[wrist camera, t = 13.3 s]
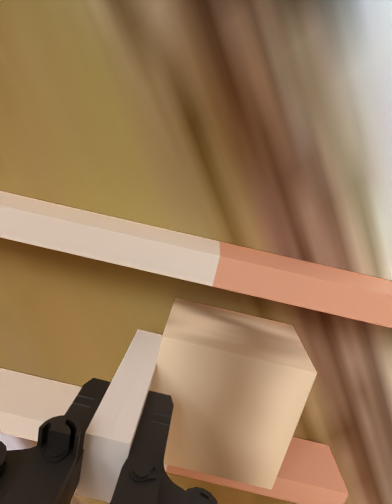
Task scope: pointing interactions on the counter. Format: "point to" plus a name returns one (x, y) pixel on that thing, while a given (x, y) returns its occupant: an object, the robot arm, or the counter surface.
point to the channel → (199, 271)
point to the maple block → (231, 391)
